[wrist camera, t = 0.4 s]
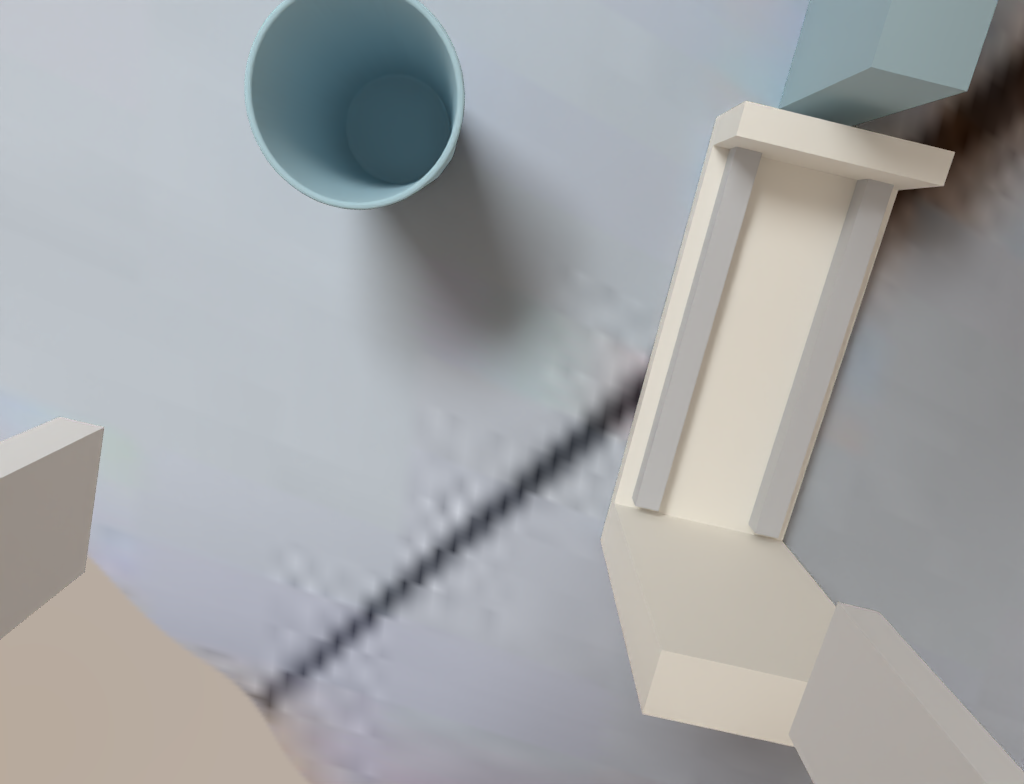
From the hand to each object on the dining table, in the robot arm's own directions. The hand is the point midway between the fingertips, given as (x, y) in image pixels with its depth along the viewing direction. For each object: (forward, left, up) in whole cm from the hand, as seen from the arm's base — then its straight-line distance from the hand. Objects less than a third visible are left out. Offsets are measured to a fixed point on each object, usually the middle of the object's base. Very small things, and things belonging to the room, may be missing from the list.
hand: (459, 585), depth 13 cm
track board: (-2, +12, -26) cm, 29 cm away
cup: (-9, -7, -26) cm, 29 cm away
